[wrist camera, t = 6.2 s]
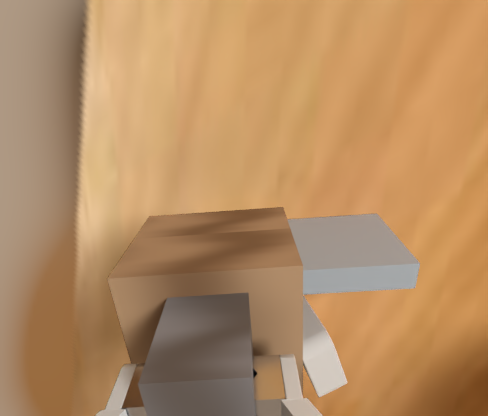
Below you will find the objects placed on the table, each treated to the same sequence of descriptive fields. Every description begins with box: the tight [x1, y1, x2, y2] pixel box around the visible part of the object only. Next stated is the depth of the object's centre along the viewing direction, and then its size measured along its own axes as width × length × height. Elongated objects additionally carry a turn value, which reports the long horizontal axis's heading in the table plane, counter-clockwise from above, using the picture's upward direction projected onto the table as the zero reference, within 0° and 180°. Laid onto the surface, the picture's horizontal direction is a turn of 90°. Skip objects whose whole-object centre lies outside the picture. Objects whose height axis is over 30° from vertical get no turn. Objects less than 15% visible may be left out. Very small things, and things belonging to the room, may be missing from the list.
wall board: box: [288, 214, 420, 294], centre depth 29 cm, size 21×4×9 cm, turn 95°
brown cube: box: [107, 207, 303, 416], centre depth 13 cm, size 7×7×9 cm
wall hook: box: [303, 296, 347, 397], centre depth 36 cm, size 8×10×10 cm
